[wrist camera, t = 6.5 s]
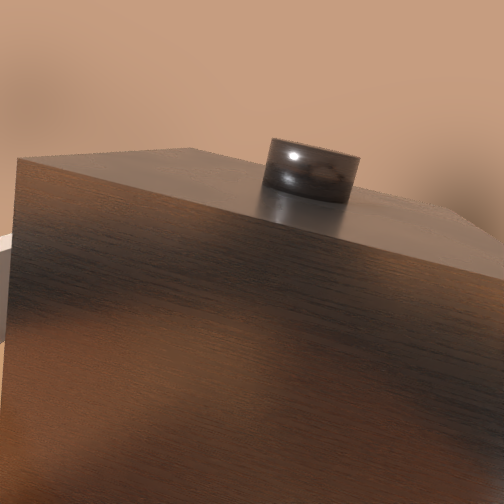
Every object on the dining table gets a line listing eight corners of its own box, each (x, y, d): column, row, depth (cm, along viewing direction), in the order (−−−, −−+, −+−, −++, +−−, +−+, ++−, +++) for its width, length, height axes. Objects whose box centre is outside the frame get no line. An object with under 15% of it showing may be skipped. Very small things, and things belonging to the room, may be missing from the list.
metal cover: (152, 369, 21) (195, 116, 18) (372, 435, 19) (460, 176, 16) (-11, 567, 11) (22, 90, 8) (401, 724, 10) (628, 228, 7)
